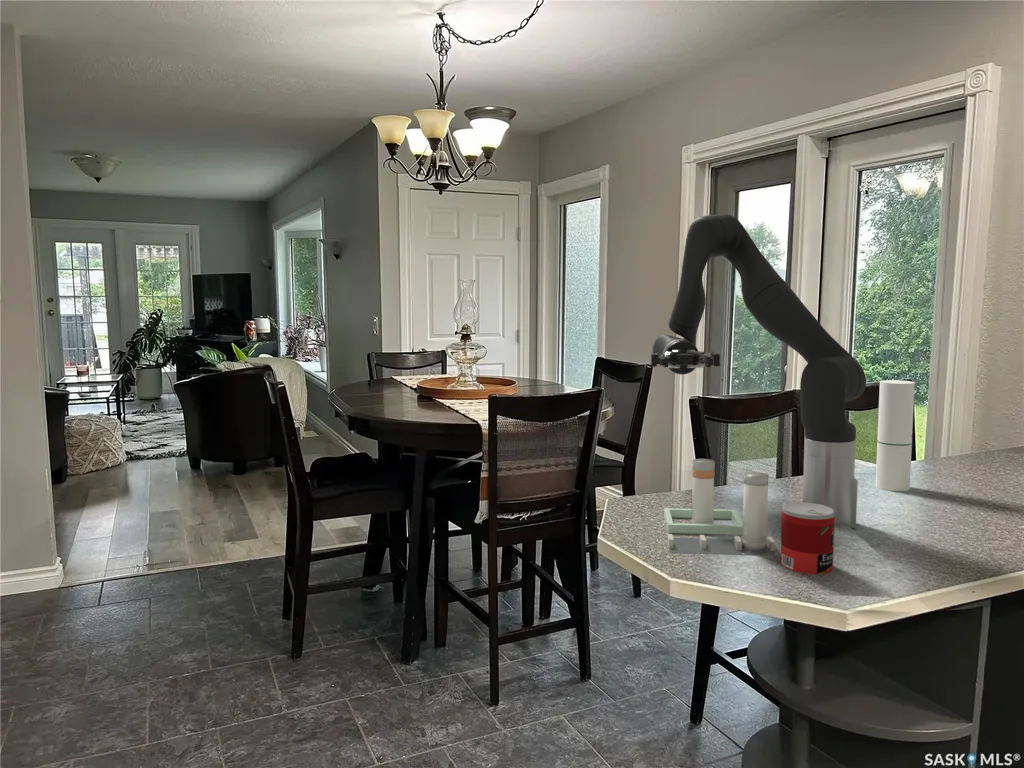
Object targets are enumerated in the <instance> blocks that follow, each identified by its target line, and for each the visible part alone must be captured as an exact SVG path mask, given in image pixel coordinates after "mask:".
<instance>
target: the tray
mask: <svg viewBox="0 0 1024 768" xmlns="http://www.w3.org/2000/svg"><path fill="white" fill-rule="evenodd" d="M663 517H664V521H665V525H666V530H667V534H697V535H698V534H699V535H734V536H739V535H741V536H743V519H742V518H741V517H740V515H739V514H738V511H737V510H736V509H725V508H724V509H723V508H722V509H721V508H720V509H719V508H718V509H715V508H714V516H713V519H725V520H726V519H729V520H730V519H731V521H732V523H733V524H719V523H718V524H717V523H714V524H692V523H679V522H677V523H676V522H675V523H674V521H673V518H682V519H683V518H685V519H686V518H687V519H688V518H689V519H690V518H691V519H692V508H678V507H677V508H673V507H672V508H671V507H670V508H667V507H664V508H663Z"/></svg>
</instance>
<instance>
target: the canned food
mask: <svg viewBox="0 0 1024 768" xmlns="http://www.w3.org/2000/svg"><path fill="white" fill-rule="evenodd" d="M781 507H782V509H781V523H780V524H781V528H780V530H781V533H780V537H781V538H780V564H781V566H783V567H784V568H785V569H788V570H790V571H793V572H797V573H801V574H808V575H824V574H827V573H831V572H832V571H833V569H834V551H835V550H834V548H835V546H834V544H835V542H834V541H835V514H834V510H833V509H831V508H829V507H827V506H824V505H820V504H815V503H806V502H803V501H800V502H798V501H795V502H794V501H793V502H789V503H784V504H783V505H782V506H781Z"/></svg>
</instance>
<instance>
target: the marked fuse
mask: <svg viewBox="0 0 1024 768" xmlns="http://www.w3.org/2000/svg"><path fill="white" fill-rule="evenodd" d="M715 463H716V462H715V460H713V459H709V458H694V459H693V460H692V470H691V471H692V474H691V475H692V494H691V495H692V496H691V497H692V498H691V499H692V500H691V501H692V503H691V505H692V506H691V509H692V518H691V524H715V523H714V522H715V521H714V518H713V516H714V509H715V508H714V505H715V503H714V501H715V499H714V498H715V471H716V470H715Z"/></svg>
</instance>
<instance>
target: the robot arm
mask: <svg viewBox="0 0 1024 768" xmlns="http://www.w3.org/2000/svg"><path fill="white" fill-rule="evenodd" d="M684 245H685V246H684V253H683V260H682V266H681V274H680V281H679V287H678V290H677V291H678V292H677V294H676V298H675V302H674V305H673V308H672V311H671V313H670V314H671V315H670V317H669V321H668V328H669V330H670V331H671V332H672V333H674V334H676V335H678V336H680V337H678V336H674V335H670V334H660V335H659V336H658V337H657V338H656V339H655V340H654V342H653V345H652V352H651V353H650V366H651V367H652V368H656V367H658V365H659V367H661V368H666V369H669V370H670V372H671V373H674V374H676V375H687V374H690V373H692V372H694V371H695V369H697V368H698V369H702V368H705V367H706V368H712V367H713V366H714V367H717V368H718V367H720V366H721V354H720V353H717V352H714V351H712V352H708V353H706V352H705V351H701V350H698V348H697V334H698V328H699V327H700V323H701V321H702V317H703V314H704V311H705V309H706V300H707V299H706V293H705V288H704V282H703V275H704V270H705V268H706V266H707V264H708V261H709V260H710V258H717V257H723V258H725V259H727V261H729V262H730V263H731V265H732V266H733V267H734V268H735V270H736V271H737V273H738V275H739V277H740V282H741V285H740V286H741V293H742V300H743V303H744V305H745V306H746V308H747V310H748V311H749V312H750V314H751V315H752V316H753V318H754V319H755V320H756V321H757V323H758V324H759V325H760V326H761V327H762V328H763V329H764V330H765V331H766V332H768V333H769V334H770V335H772V336H773V337H775V338H776V339H777V340H779V341H781V342H782V343H783V344H785V345H786V346H788V347H790V348H791V349H792V350H794V351H795V352H797V353H798V354H799V355H800V356H801V357H802V358H803V359H804V361H806V363H807V364H806V365H805V367H804V369H802V373H801V377H800V382H799V389H800V391H799V396H800V398H799V399H800V403H799V404H800V406H799V407H800V421H801V424H802V426H803V430H804V447H803V448H804V449H803V451H804V452H803V477H802V479H803V480H802V481H803V482H802V483H803V485H802V502H806V503H815V504H820V505H824V506H827V507H829V508H831V509H833V510H834V514H835V524H846V525H847V526H848V527H849V528H850V529H856V528H857V510H858V509H857V508H858V486H859V485H858V484H859V483H858V479H857V478H855V468H856V467H855V466H856V464H855V463H856V439H857V430H856V429H857V428H856V426H855V424H853V423H851V422H850V421H849V420H848V419H847V416H846V403H849V402H851V401H854V400H855V401H856V400H857V399H858V398H860V397H861V396H862V395H863V394H864V392H865V389H866V386H867V378H866V374H865V370H864V369H863V367H862V365H861V364H860V363H859V361H858V360H856V358H854V357H853V355H852V354H850V353H849V352H848V351H847V350H846V349H845V348H844V347H843V346H842V345H840V343H839V342H837V340H836V339H835V338H833V336H832V335H831V334H829V333H828V332H827V330H826V329H825V328H824V327H823V326H822V324H821V323H820V322H819V321H818V320H817V319H816V316H814V314H812V312H811V311H810V310H809V308H807V306H806V305H805V304H804V303H803V301H801V299H800V297H798V295H797V294H796V293H795V292H794V290H793V289H792V288H791V287H790V286H789V285H788V283H787V282H786V280H784V279H783V278H782V277H781V276H780V275H779V273H778V272H777V271H776V270H775V268H774V267H773V266H772V265H771V263H770V262H769V261H768V260H767V259H766V257H765V256H764V254H762V252H761V251H760V250H759V248H758V247H757V245H756V244H755V241H754V240H753V239H752V238H751V236H750V234H749V233H748V231H747V230H746V228H745V226H744V225H743V224H742V223H741V221H740V220H739V219H738V218H737V217H735V216H734V215H731V214H730V213H729V214H727V213H719V214H709V215H702V216H699V217H697V218H695V219H694V220H692V222H691V224H690V226H689V228H688V231H687V235H686V239H685V244H684Z"/></svg>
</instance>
